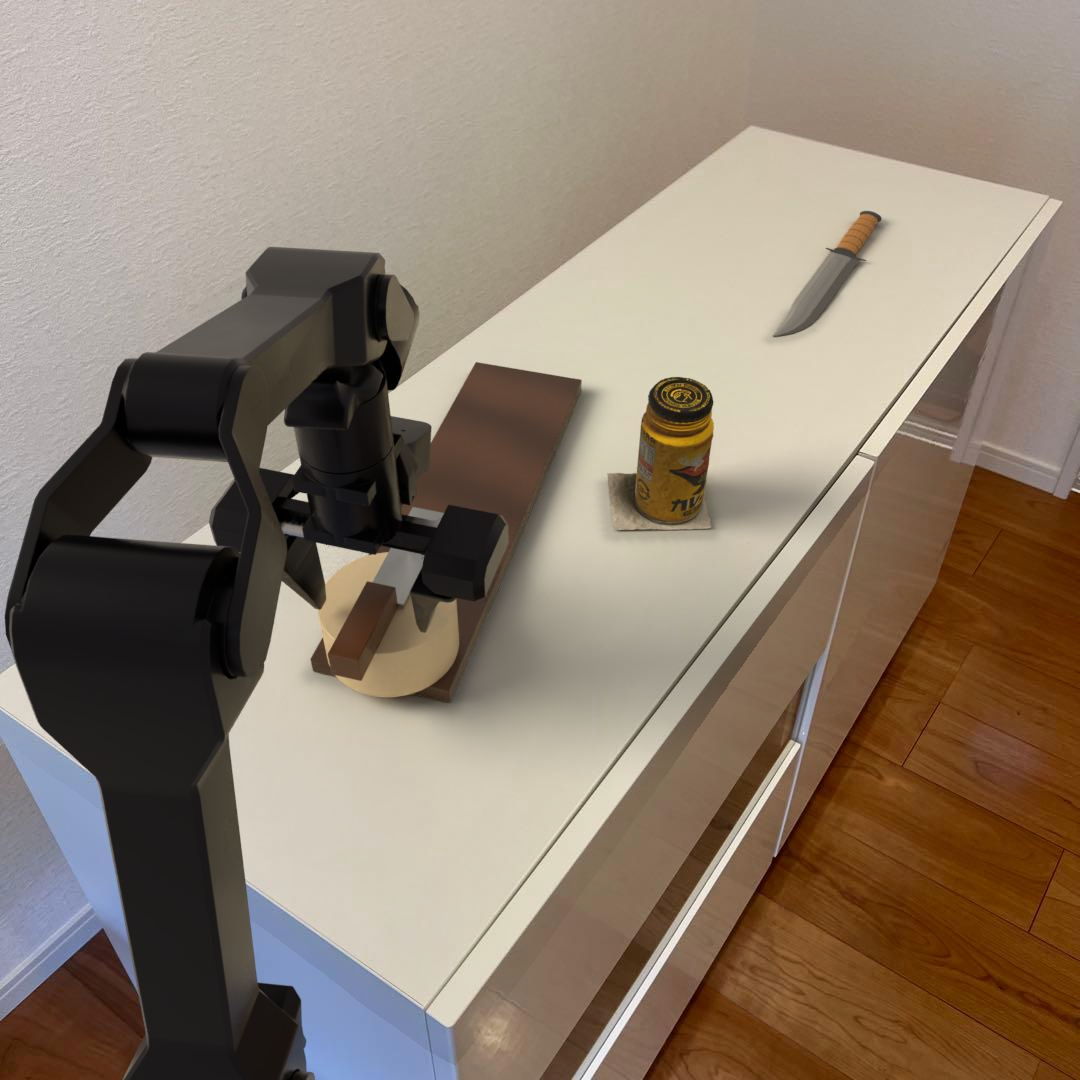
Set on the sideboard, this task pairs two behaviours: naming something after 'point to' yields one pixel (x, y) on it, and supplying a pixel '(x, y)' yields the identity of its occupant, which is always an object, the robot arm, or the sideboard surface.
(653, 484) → the condiment
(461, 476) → the serving board
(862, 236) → the knife
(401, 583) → the cake knife
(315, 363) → the robot arm
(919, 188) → the sideboard surface
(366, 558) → the cake
